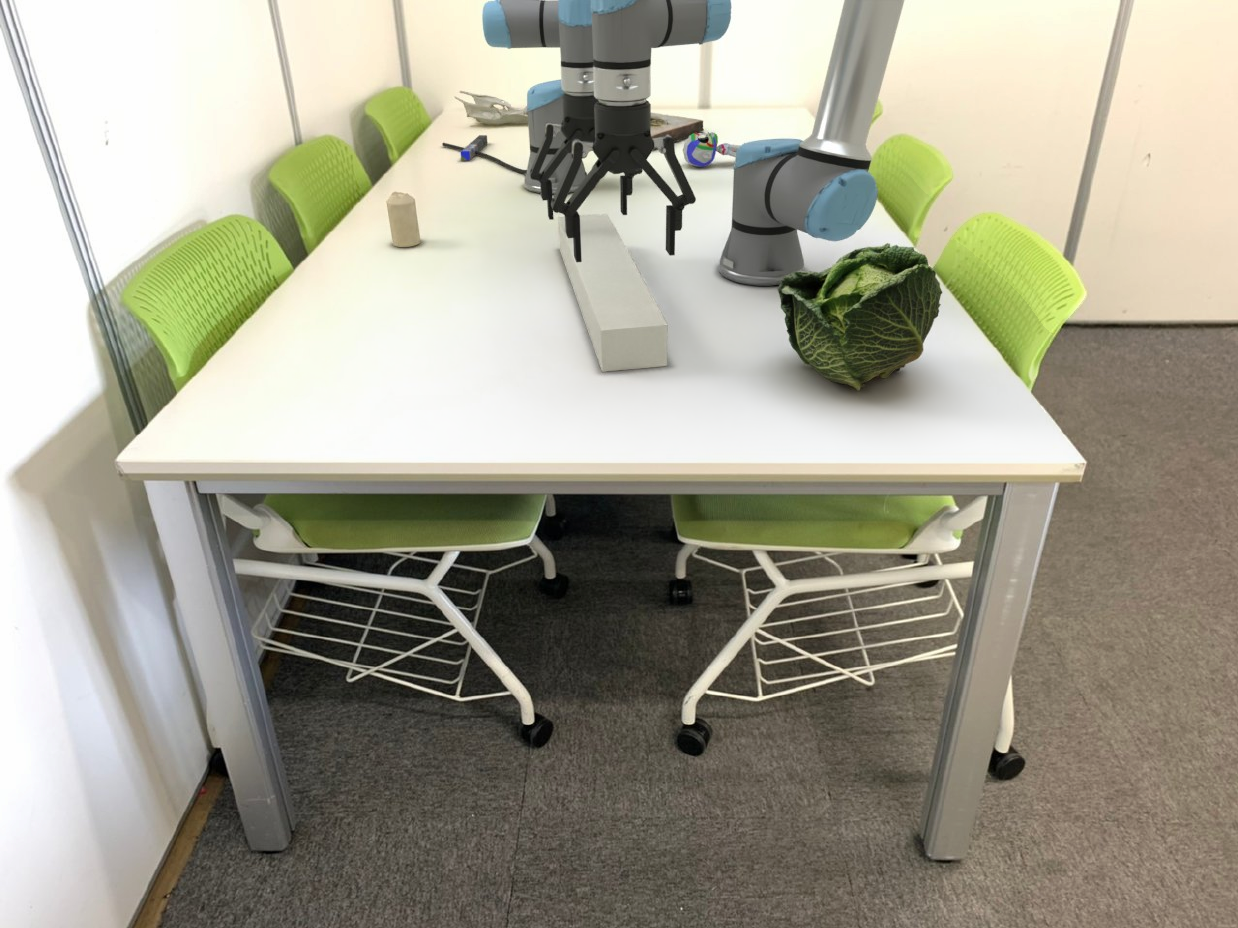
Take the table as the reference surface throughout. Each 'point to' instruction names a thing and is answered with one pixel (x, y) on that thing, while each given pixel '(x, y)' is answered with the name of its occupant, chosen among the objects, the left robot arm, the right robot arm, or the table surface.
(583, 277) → the slab
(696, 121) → the plaque
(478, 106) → the anatomical model
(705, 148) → the toy
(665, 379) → the table surface
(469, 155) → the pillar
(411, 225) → the candle
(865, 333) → the vegetable
